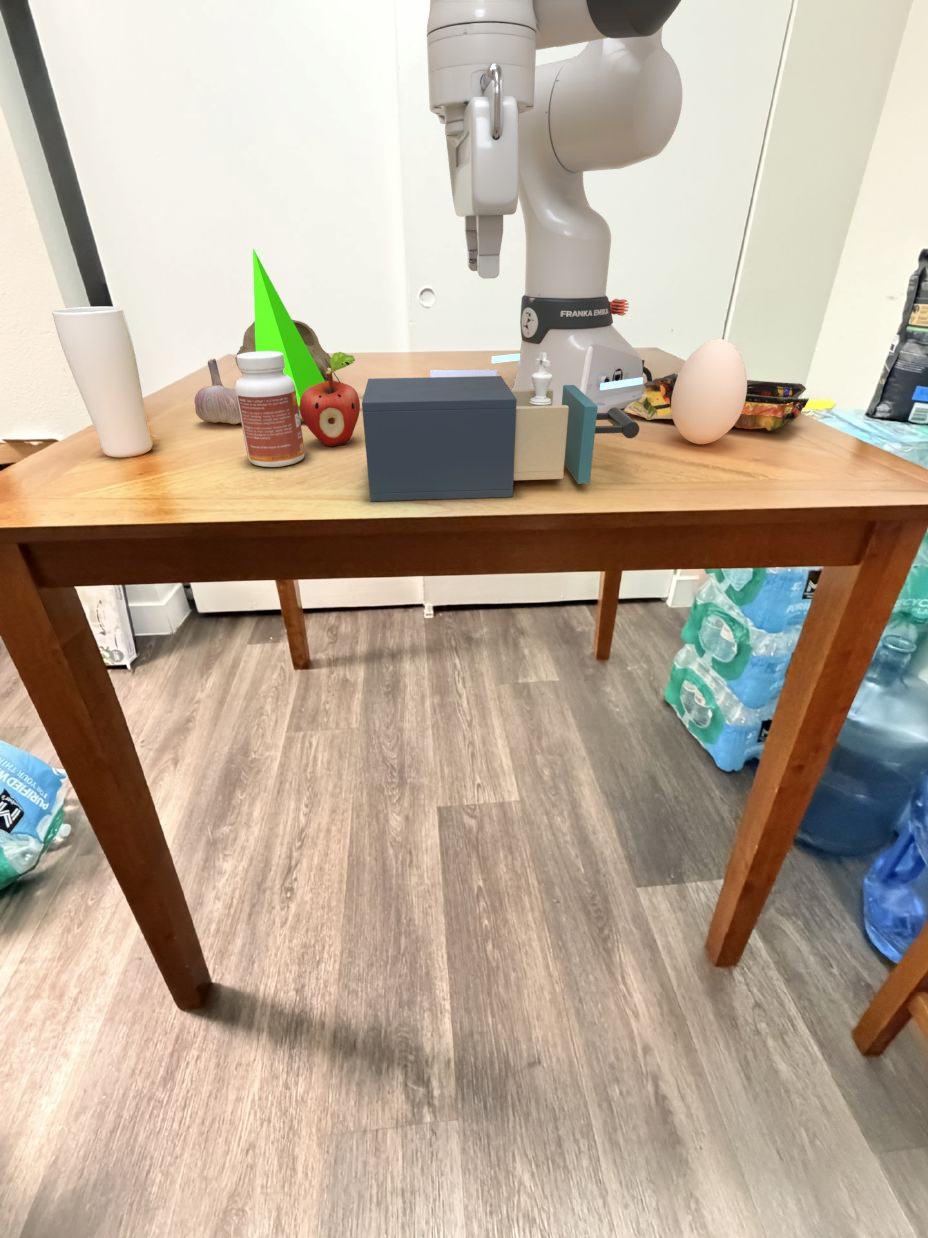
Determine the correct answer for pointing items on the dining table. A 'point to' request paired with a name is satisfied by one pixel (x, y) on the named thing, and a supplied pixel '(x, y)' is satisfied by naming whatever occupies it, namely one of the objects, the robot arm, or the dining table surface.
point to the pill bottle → (268, 410)
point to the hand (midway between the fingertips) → (482, 273)
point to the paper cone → (281, 333)
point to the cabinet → (439, 438)
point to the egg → (709, 392)
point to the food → (761, 408)
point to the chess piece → (541, 382)
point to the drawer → (561, 434)
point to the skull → (307, 337)
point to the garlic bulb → (217, 400)
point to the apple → (331, 406)
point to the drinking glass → (106, 376)
